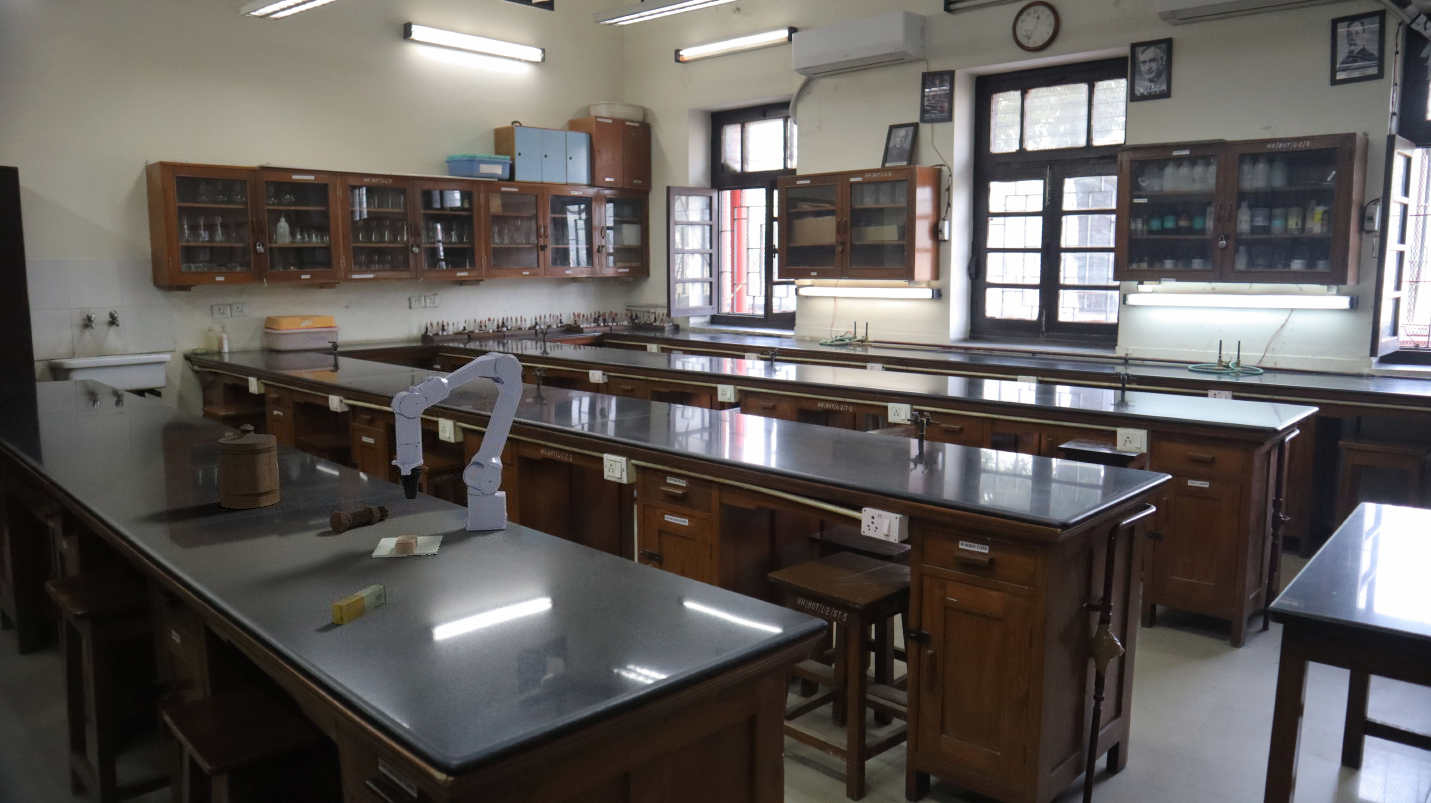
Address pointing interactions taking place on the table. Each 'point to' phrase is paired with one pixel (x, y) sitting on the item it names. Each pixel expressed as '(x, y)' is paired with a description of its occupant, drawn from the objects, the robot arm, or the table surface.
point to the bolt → (357, 517)
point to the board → (424, 547)
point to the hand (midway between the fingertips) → (411, 498)
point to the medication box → (359, 604)
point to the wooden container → (248, 470)
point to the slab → (406, 544)
